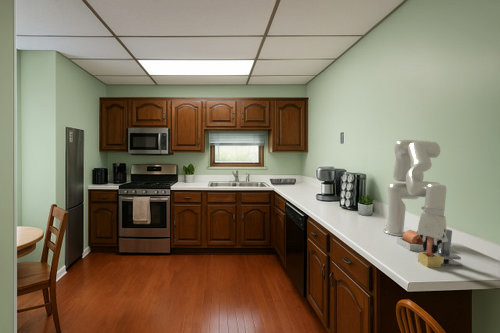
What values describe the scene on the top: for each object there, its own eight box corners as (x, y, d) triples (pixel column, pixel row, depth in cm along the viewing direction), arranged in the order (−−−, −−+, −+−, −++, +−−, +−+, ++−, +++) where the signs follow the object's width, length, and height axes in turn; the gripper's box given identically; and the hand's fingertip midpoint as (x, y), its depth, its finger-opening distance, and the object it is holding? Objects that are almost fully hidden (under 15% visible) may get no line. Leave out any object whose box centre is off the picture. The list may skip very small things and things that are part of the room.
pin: (424, 257, 127) (426, 235, 127) (427, 256, 129) (429, 235, 128) (431, 259, 125) (433, 237, 124) (434, 258, 126) (436, 237, 126)
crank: (411, 249, 147) (412, 234, 147) (402, 243, 155) (403, 229, 154) (447, 250, 149) (448, 235, 148) (436, 244, 156) (437, 231, 156)
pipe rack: (396, 242, 156) (396, 237, 155) (436, 244, 157) (437, 238, 157) (409, 250, 144) (410, 244, 144) (453, 251, 146) (453, 246, 146)
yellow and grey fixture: (409, 256, 136) (412, 226, 135) (445, 257, 137) (448, 227, 136) (427, 267, 124) (430, 233, 123) (465, 268, 125) (469, 235, 124)
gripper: (410, 208, 130) (407, 246, 132) (450, 216, 116) (445, 259, 118) (419, 207, 134) (416, 244, 135) (458, 215, 120) (454, 256, 121)
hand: (430, 251), depth 127 cm, fingers closed on pin, 2 cm apart
